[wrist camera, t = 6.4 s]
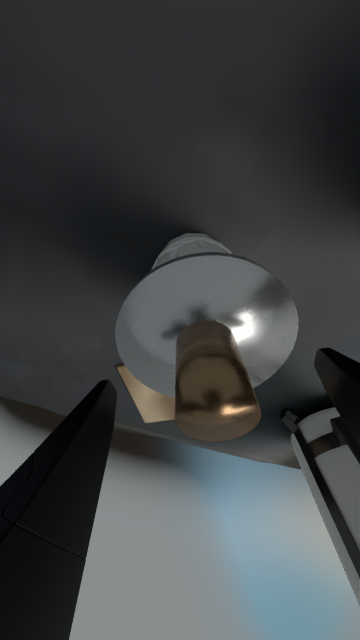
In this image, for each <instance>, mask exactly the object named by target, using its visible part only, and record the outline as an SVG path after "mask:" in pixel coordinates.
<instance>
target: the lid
mask: <svg viewBox="0 0 360 640" xmlns="http://www.w3.org/2000/svg"><path fill="white" fill-rule="evenodd" d="M297 332H298V315H297V310H296V307H295V304H294V301H293V299H292V297H291V295H290V294H289V292H288V290H287V289H286V288H285V287H284V285H283V284H282V283H281V282H280V281H279V280H278V279H277V278H276V277H275V276H274V275H273V274H272V273H271V272H269V271H268V270H267V269H266V268H264V267H263V266H261V265H259V264H258V263H256V262H254V261H252V260H249V259H247V258H245V257H241V256H237V255H234V254H229V253H220V252H201V253H194V254H188V255H184V256H181V257H177V258H174V259H172V260H170V261H167V262H165V263H163V264H161V265H159V266H158V267H156V268H154V269H153V270H151V271H150V272H148V273H147V274H146V275H145V276H144V277H142V278H141V279H140V280H139V281H138V282H137V283H136V285H135V286H134V287H133V288H132V289H131V291H130V292H129V294H128V295H127V297H126V299H125V301H124V303H123V305H122V308H121V310H120V312H119V315H118V319H117V322H116V331H115V336H116V345H117V349H118V352H119V355H120V357H121V360H122V361H123V363H124V365H125V366H126V368H127V369H128V370H129V372H130V373H131V374H132V375H133V376H134V377H135V378H136V379H137V380H138V381H140V382H141V383H142V384H144V385H145V386H147V387H148V388H150V389H152V390H154V391H156V392H158V393H160V394H163V395H166V396H169V397H172V398H175V424H176V426H177V428H178V429H179V430H180V431H181V432H182V433H183V434H185V435H186V436H188V437H190V438H193V439H196V440H200V441H208V442H219V441H227V440H232V439H235V438H238V437H241V436H243V435H245V434H247V433H248V432H250V431H251V430H253V429H254V428H255V427H256V426H257V424H258V423H259V421H260V419H261V409H260V406H259V404H258V401H257V398H256V395H255V392H254V390H253V388H255V387H256V386H258V385H260V384H262V383H263V382H264V381H266V380H267V379H269V378H270V377H271V376H272V375H273V374H274V373H276V372H277V371H278V369H279V368H280V367H281V366H282V365H283V364H284V362H285V361H286V360H287V358H288V357H289V355H290V353H291V351H292V349H293V347H294V344H295V341H296V338H297Z"/></svg>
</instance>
